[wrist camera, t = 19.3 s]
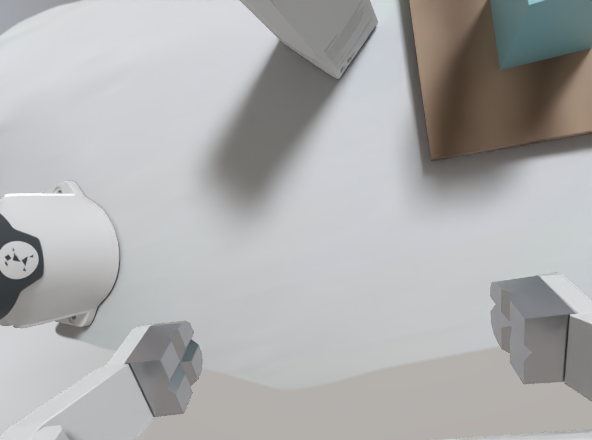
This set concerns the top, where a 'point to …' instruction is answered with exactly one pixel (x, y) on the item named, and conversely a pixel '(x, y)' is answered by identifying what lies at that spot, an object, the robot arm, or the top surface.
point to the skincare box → (319, 28)
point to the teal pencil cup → (540, 29)
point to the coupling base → (492, 85)
